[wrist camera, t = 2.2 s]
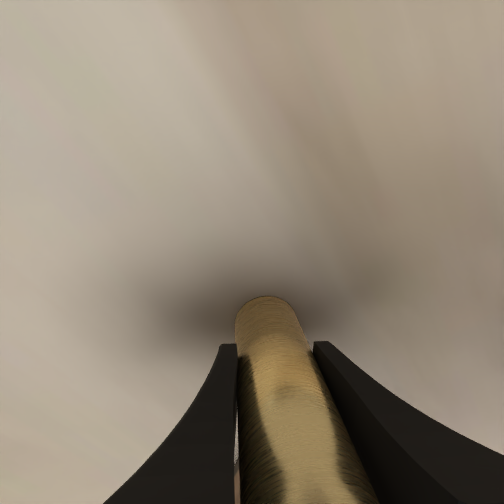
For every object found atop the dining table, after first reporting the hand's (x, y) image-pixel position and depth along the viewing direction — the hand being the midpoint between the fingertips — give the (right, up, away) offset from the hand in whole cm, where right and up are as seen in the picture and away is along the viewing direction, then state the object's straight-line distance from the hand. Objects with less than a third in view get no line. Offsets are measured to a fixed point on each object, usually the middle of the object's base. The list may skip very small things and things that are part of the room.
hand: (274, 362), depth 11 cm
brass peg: (0, +1, +3) cm, 3 cm away
